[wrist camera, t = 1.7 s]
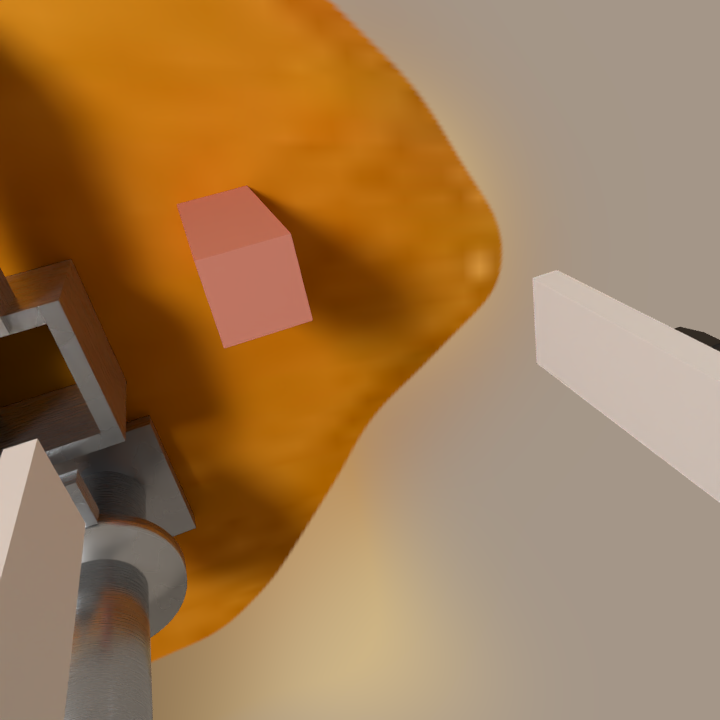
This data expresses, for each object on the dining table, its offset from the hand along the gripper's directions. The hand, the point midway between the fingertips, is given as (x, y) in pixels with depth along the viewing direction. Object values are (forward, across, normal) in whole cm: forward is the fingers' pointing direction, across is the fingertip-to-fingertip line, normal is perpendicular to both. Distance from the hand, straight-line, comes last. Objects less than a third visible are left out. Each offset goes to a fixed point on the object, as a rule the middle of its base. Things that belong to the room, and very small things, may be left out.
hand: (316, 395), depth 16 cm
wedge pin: (+18, 0, 0) cm, 18 cm away
